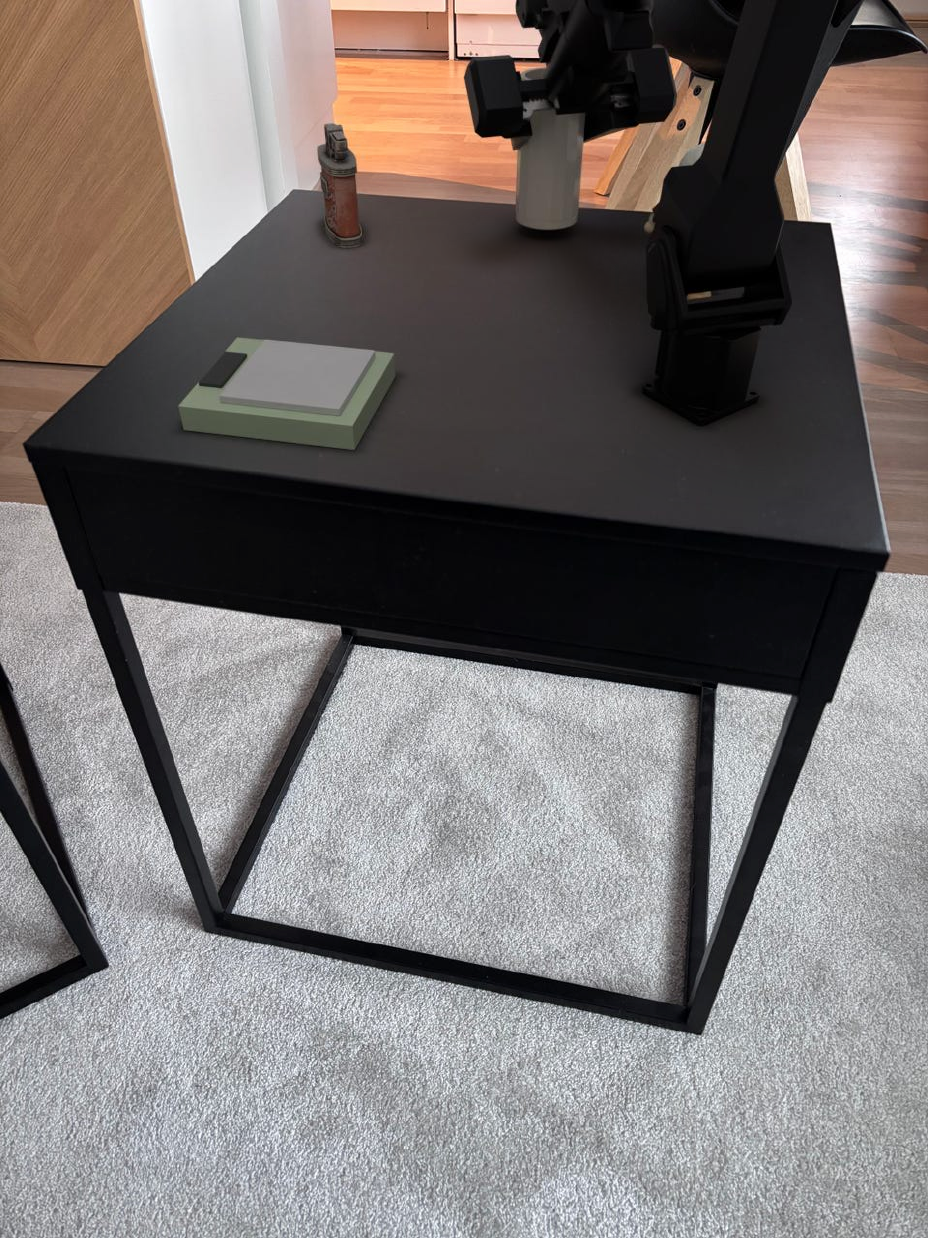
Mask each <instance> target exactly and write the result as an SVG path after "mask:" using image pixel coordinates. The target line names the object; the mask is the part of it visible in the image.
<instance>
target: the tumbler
mask: <svg viewBox="0 0 928 1238" xmlns="http://www.w3.org/2000/svg"><path fill="white" fill-rule="evenodd" d="M545 70H546V66H541V67H534V68H528V69H525V70H523V71H520V74H521V79H522V81H523V80H536V79H544V72H545ZM585 117H586V113H578V114H566V115H556V111H555V110H545V111H534V112H533V114H532V116H531V117H530V123H531V128H532V133H533V136H532V137H531V138H530V139H529V140H528V141H527V142H526V143H525V144H524V145H523V146H522V147H521V148H519V149H518V150H516V178H515V220H516V222H517V223H518V224H519V225H521V226H524V227H526V228H529V229H535V230H542V231H553V230H562V229H567V228H569V227H572V226H574V225H575V224H576V223H577V222H578V220H579V210H580V197H581V183H582V169H583V158H584V157H583V156H584V144H585V143H584V131H585Z"/></svg>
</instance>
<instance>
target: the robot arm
mask: <svg viewBox="0 0 928 1238" xmlns="http://www.w3.org/2000/svg"><path fill="white" fill-rule="evenodd" d="M838 2H839V0H744V4H743V7H742V11H741V14H740V18H739V22H738V25H737V29H736V32H735V35H734V40H733V43H732V46H731V50H730V54H729V57H728V61H727V65H726V68H725V71H724V74H723V77H722V81H721V85H720V89H719V92H718V96H717V99H716V102H715V107H714V109H713V113H712V116H711V119H710V124H709V127H708V131H707V134H706V138H705V141H704V144H705V145H704V148H703V151H702V154H701V156H700V158H699V159H698V160H697V161H696V162H695V163H694V164H693V165H686V166H679V165H677V166H671V167H670V168H669V169H668V171H667V173H666V175H665V176H664V178H663V181H662V186H661V192H660V198H659V201H658V203H659V205H658V208H657V211H656V213H655V214H654V216H653V218H652V221H653V223H655V225H654V229H653V231H652V232H651V233H649V236H648V239H647V244H646V246H645V274H646V276H645V277H646V278H645V279H646V281H645V283H646V304H647V313H648V315H649V316H650V324H649V326H650V327H651V328H652V329H653V330H654V331H660V336H659V341H658V350H657V356H656V363H655V369H654V375H655V376H656V378H653V379H650V380H648V381H646V382H643V383H642V385H641V391H642V392H643V393H644V394H646V395H647V396H648V397H651V398H652V399H654V400H656V401H658V402H660V403H661V404H663V405H665V406H667V407H668V408H670V409H672V410H674V411H675V412H677V413H678V414H681V415H682V416H684V417H685V418H687V419H689V420H691V421H693V422H694V423H696V424H699V425H705V424H709V423H710V422H712V421H714V420H717V419H719V418H721V417H724V416H726V415H728V414H731V413H733V412H735V411H737V410H740V409H742V408H744V407H747V406H749V405H751V404H753V403H756V402H758V401H759V398H760V395H761V394H760V392H759V391H757V390H755V389H754V388H751V387H749V386H750V382H751V378H752V373H753V368H754V365H755V360H756V355H757V351H758V346H759V341H760V337H761V332H762V327H766V326H774V327H775V326H782V324H783V323H784V321H785V319H786V317H787V316H788V313H789V311H790V310H791V308H792V305H793V299H792V294H791V289H790V284H789V280H788V276H787V271H786V266H785V262H784V257H783V253H782V247H781V243H780V237H781V234H782V231H783V226H784V223H785V215H784V210H783V206H782V202H781V197H780V195H779V190H778V188H777V183H776V177H777V173H778V170H779V168H780V164H781V162H782V158H783V156H784V153H785V150H786V148H787V145H788V142H789V139H790V136H791V133H792V131H793V128H794V125H795V122H796V120H797V117H798V114H799V111H800V109H801V106H802V103H803V100H804V97H805V94H806V92H807V89H808V86H809V83H810V80H811V77H812V75H813V72H814V69H815V66H816V64H817V61H818V58H819V55H820V52H821V49H822V47H823V44H824V42H825V39H826V36H827V32H828V30H829V28H830V25H831V22H832V19H833V16H834V13H835V10H836V8H837V6H838ZM653 8H654V0H515V14H516V16H517V19H518V22H519V23H520V26H521V28H522V29H523V30H524V29H535V30H538V32H539V35H540V37H541V39H540V43H539V45H538V47H537V54H538V58H539V59H538V60H539V62H540V63H539V64H545V67H546V70H545V72H544V79H536V80H523V81H522V79H521V71H520V70H517V68H516V64H515V58H514V57H513V56H511V55H510V54H503V55H490V56H476V57H475V56H474V57H472V58H471V59H470V60H469V62H468V63H467V66H466V68H465V72H464V75H463V81H464V86H465V87H464V88H465V92H466V96H467V101H468V106H469V111H470V116H471V120H472V121H471V122H472V126H473V131H474V133H475V134H476V135H477V136H479V137H480V138H481V139H486V138H487V139H488V138H497V137H501V138H503V139H504V140H510V143H511V148H512V151H514V152H515V151H517V150H518V149H519V148H521V147H522V146H523V145H524V144H525V143H526V142H527V141H528V140H529V139H530V138H531V137H532V136H533V133H532V128H531V123H530V117H531V116H532V114H533V112H534V111H545V110H555V111H556V115H566V114H578V113H586V117H585V131H584V144H586V143H589V142H591V141H592V142H593V141H594V140H597V139H601V138H603V137H606V136H609V135H612V134H615V133H618V132H621V131H624V130H628V129H635V128H637V127H638V126H639V125H643V124H644V125H645V124H654V123H655V124H656V123H665V122H666V120H667V119H668V117H669V116H670V114H671V113H672V111H673V110H674V109H675V107H676V106H677V99H678V93H677V87H676V83H675V78H674V74H673V68H672V63H671V58H670V55H669V54H670V53H669V52H668V50H667V49H666V47H665V46H663V45H661V44H659V43H658V44H654V39H655V32H654V31H655V30H654V27H653V23H652V17H651V13H652V12H653ZM740 288H743V291H742V292H741V291H740V292H733V293H725V294H717V295H711V296H710V297H702V298H694V299H687V295H688V294H694V293H702V292H709V291H710V292H716V291H717V292H718V291H724V290H731V289H732V290H733V289H740Z"/></svg>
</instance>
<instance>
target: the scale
mask: <svg viewBox="0 0 928 1238" xmlns="http://www.w3.org/2000/svg"><path fill="white" fill-rule="evenodd" d="M395 359H396V358H395V353H394V352H386V351H377V350H374V349H364V348H354V347H346V346H334V345H323V344H314V343H304V342H295V341H294V342H293V341H286V340H285V341H283V340H274V339H256V338H246V337H236V338H235V339H234V340H233V342H232V343H231V344H230V345H229V346H228V348H227V349H226V350H225V351H224V352H223V353H222V354H221V355H220V357H219V358H218V359H217V360H216V361H215V363H214V364H213V365H212V366H211V367H210V368H209V369H208V371H206V373H205V374H204V375H203V376H202V378H201V379H200V380H199V381H198V382H197V383H196V385H195V386H194V387H193V388H192V389H191V390H190V392H188V394H187V395H186V396H185V397H184V398H183V400H182V401H181V402H180V403H179V404H178V405H177V407H178V411H179V415H180V420H181V424H182V429H183V431H189V432H197V433H206V434H213V435H222V436H229V437H239V438H247V439H257V440H264V441H274V442H283V443H290V444H299V445H307V446H317V447H324V448H334V449H341V450H350V451H355V450H356V448H358V445H359V443H360V441H361V440H362V438H363V436H364V435H365V432H366V431H367V429H368V427H369V425H370V423H371V421H372V419H373V417H374V416H375V414H376V413H377V410H378V409H379V408H380V405H381V404H382V401H383V400H384V398H385V396H386V394H387V392H388V390H389V389H390V387H391V386H392V383H393V381H394V380H395V378H396V361H395Z"/></svg>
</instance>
